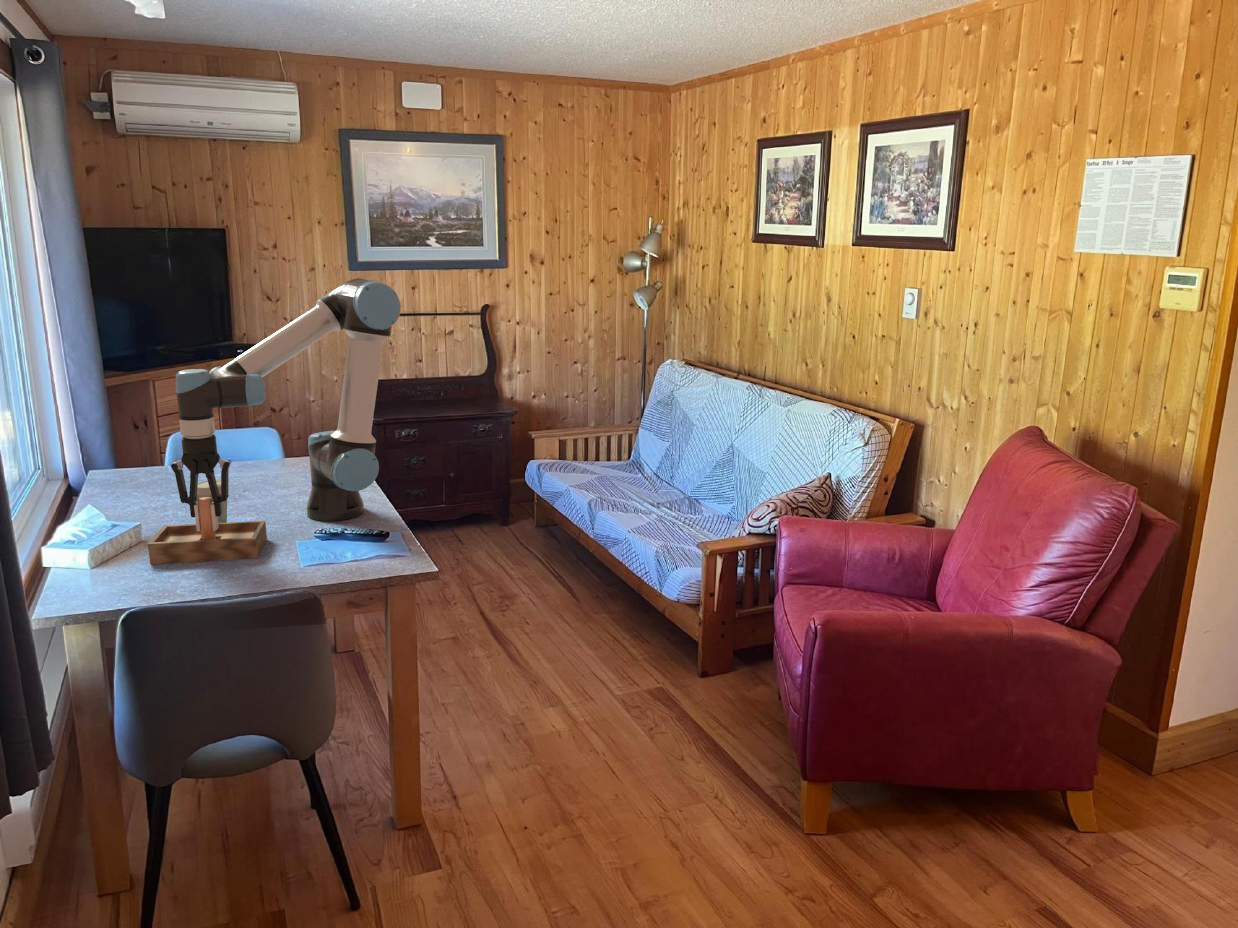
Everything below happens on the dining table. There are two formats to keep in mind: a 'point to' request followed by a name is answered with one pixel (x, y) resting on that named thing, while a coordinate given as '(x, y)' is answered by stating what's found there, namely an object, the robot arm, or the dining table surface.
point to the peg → (206, 518)
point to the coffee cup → (204, 491)
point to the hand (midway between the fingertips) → (207, 529)
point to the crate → (207, 543)
